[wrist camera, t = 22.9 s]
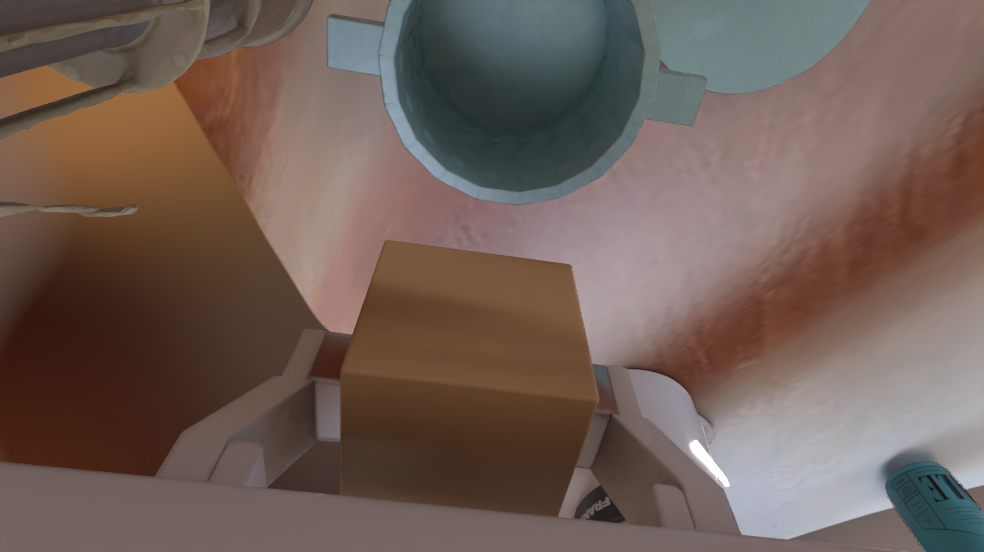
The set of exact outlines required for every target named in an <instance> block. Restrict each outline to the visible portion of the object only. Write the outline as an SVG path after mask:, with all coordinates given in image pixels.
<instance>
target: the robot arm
mask: <svg viewBox="0 0 984 552" xmlns="http://www.w3.org/2000/svg"><path fill="white" fill-rule="evenodd" d="M351 338H352V335H350V334H343V333H336V332H329V331H328V332H326V331H319V330H312V329H305V330H304V331H303V332H302V333H301V336H300V338H299V340H298V342H297V344H296V346H295V348H294V350H293V353H292V355H291V357H290V359H289V361H288V363H287V365H286V367H285V370H284V372H283V374H282V376H281V377H279V376H274V377H272V378H271V379H269V380H267V381H266V382H264V383H262V384H261V385H259V386H257V387H256V388H254V389H253V390H251V391H249V392H247V393H246V394H244V395H243V396H241V397H239V398H238V399H236V400H234V401H233V402H231V403H230V404H228V405H226V406H224V407H223V408H221V409H219V410H218V411H216V412H215V413H213V414H211V415H209V416H208V417H206V418H205V419H203V420H201V421H200V422H198V423H196V424H195V425H193V426H191V427H190V428H188V429H186V430H185V431H183V432H182V433H181V435H180V436H179V438H178V440H177V441H176V443H175V444H174V446H173V448H172V449H171V451H170V453H169V454H168V456H167V457H166V459H165V461H164V462H163V464H162V466H161V467H160V469H159V471H158V472H157V474H156V475H155V477H149V476H139V475H129V474H118V473H109V472H99V471H89V470H79V469H69V468H59V467H49V466H37V465H28V464H19V463H9V462H0V552H908V551H898V550H887V549H877V548H867V547H857V546H847V545H837V544H827V543H817V542H806V541H797V540H787V539H776V538H766V537H756V536H746V535H741V532H740V530H739V527H738V525H737V522H736V520H735V517H734V514H733V512H732V509H731V507H730V504H729V502H728V499H727V497H726V494H725V491H724V489H722V488H721V487H720V484H719V481H718V477H719V478H720V479H721V481H722V482H723V483H724V484H725V486H729V483H728V481H727V478H726V477H725V476H724V475H723V473H722V472H721V471H720V469H719V468H718V467H717V466H716V464H715V463H714V462H713V459H712V456H711V452H710V449H709V445H710V444H711V442H712V441H713V440H714V437H715V435H714V431H713V428H712V426H711V424H710V423H709V422H708V421H707V420H705V419H704V418H703V417H701V416H700V415H699V414H698V413H697V411H696V409H695V406H694V403H693V401H692V399H691V397H690V395H689V394H688V392H687V391H686V390H685V389H684V388H683V387H682V386H681V385H680V384H679V383H677V382H676V381H674V380H673V379H671V378H669V377H667V376H664V375H662V374H659V373H655V372H651V371H646V370H636V369H627V368H626V367H621V366H611V365H597V364H592V366H593V371H594V375H595V380H596V385H597V390H598V394H599V399H600V400H599V403H598V406H597V408H596V411H595V414H594V417H593V420H592V422H591V425H590V428H589V431H588V434H587V436H586V439H585V442H584V445H583V448H582V451H581V453H580V456H579V459H578V462H577V465H576V467H575V470H574V473H573V476H572V479H571V481H570V484H569V487H568V490H567V493H566V496H565V498H564V501H563V504H562V507H561V510H560V512H559V515H558V517H554V516H544V515H534V514H524V513H514V512H504V511H494V510H484V509H474V508H463V507H453V506H443V505H433V504H423V503H413V502H402V501H392V500H382V499H372V498H362V497H352V496H342V495H331V494H321V493H311V492H301V491H291V490H281V489H271V488H267V487H268V486H269V485H270V484H271V483H272V482H273V481H274V480H275V479H277V478H278V476H280V475H281V474H282V473H283V472H284V471H285V470H286V469H287V468H289V467H290V466H291V465H292V464H293V463H294V462H295V461H296V460H297V459H298V458H299V457H300V456H302V455H303V454H304V453H305V452H306V451H307V450H308V449H309V448H310V447H311V446H312V445H313V444H315V442H316V440H319V441H331V442H340V370H341V367H342V364H343V361H344V358H345V355H346V352H347V349H348V346H349V344H350V341H351ZM717 476H718V477H717Z"/></svg>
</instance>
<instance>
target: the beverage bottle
mask: <svg viewBox="0 0 984 552" xmlns="http://www.w3.org/2000/svg"><path fill="white" fill-rule="evenodd" d="M950 472H951V471H950ZM950 472H949V471H948V469H946V468H944V467H943V466H941V465H939V464H937V463H933V462H918V463H913V464H910V465H907V466H904V467H902V468H900V469H899V470H897V471H895V472H894V473H893V474H892V475H891V476H889V478H888V479H887V481H886V483H885V489H886V492H887V495H888V496H887V497H889V498H890V499H889V500H891V501H892V502H891V501H890V502H891V503H893V504H894V505H893V504H892V506H893V507H894V506H895V507H896V509H897V510H898V511H899V513H900V514H901V516H902V517H903V519H904V520H905V522H906V524H907V525H908V526H909V528H910V529H911V531H912V532H913V533H914V535H915V536H916V538H917V539H918V541H919V542H920V544H921V545H922V546H923V548H924V549H925V551H926V552H984V514H983V513H982V512H981V509H979V508H978V506H977V505H976V504H975V503H976V502H975V503H974V500H973V499H972V498H971V496H970V495H969V494H967V493H966V492H967V491H966V490H964V489H965V488H964V487H963V486H962V485H960V484H961V483H960V482H959V483H960V484H958V482H957V481H956V480H957V479H956V480H955V478H953V476H954V475H953V476H952V475H951V473H950ZM961 486H962V487H963V488H964V489H963V488H962V487H961ZM899 513H898V514H899Z"/></svg>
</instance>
